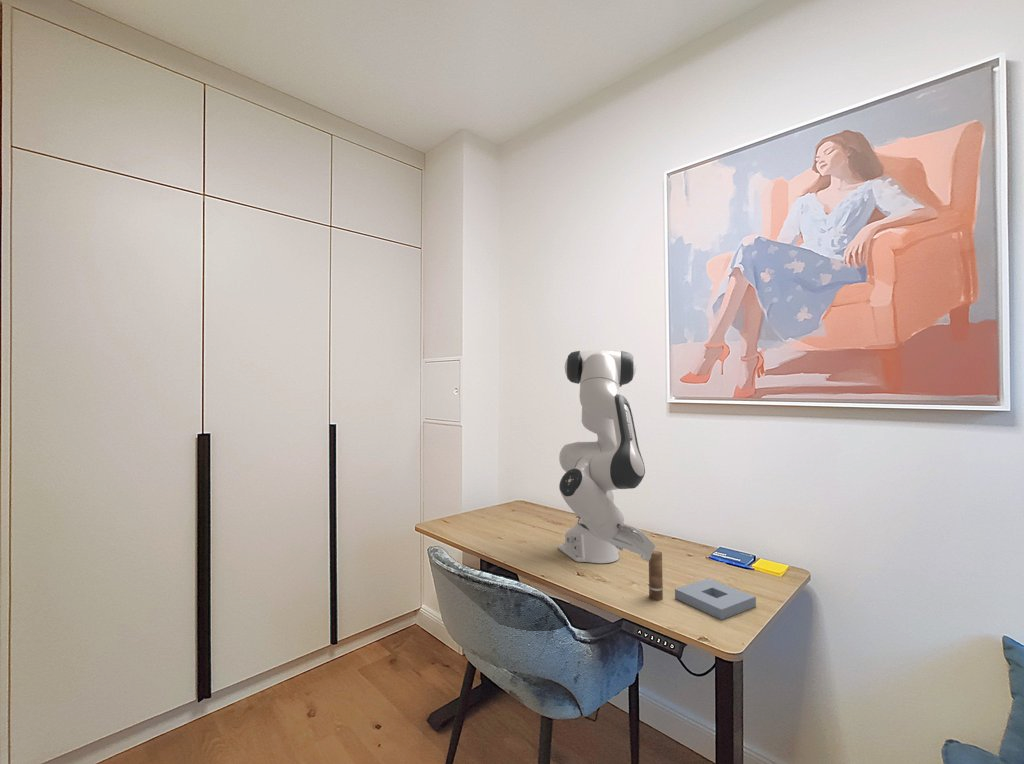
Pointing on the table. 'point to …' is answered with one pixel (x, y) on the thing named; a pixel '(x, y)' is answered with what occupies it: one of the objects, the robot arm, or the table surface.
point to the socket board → (715, 598)
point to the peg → (655, 576)
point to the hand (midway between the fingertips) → (634, 553)
